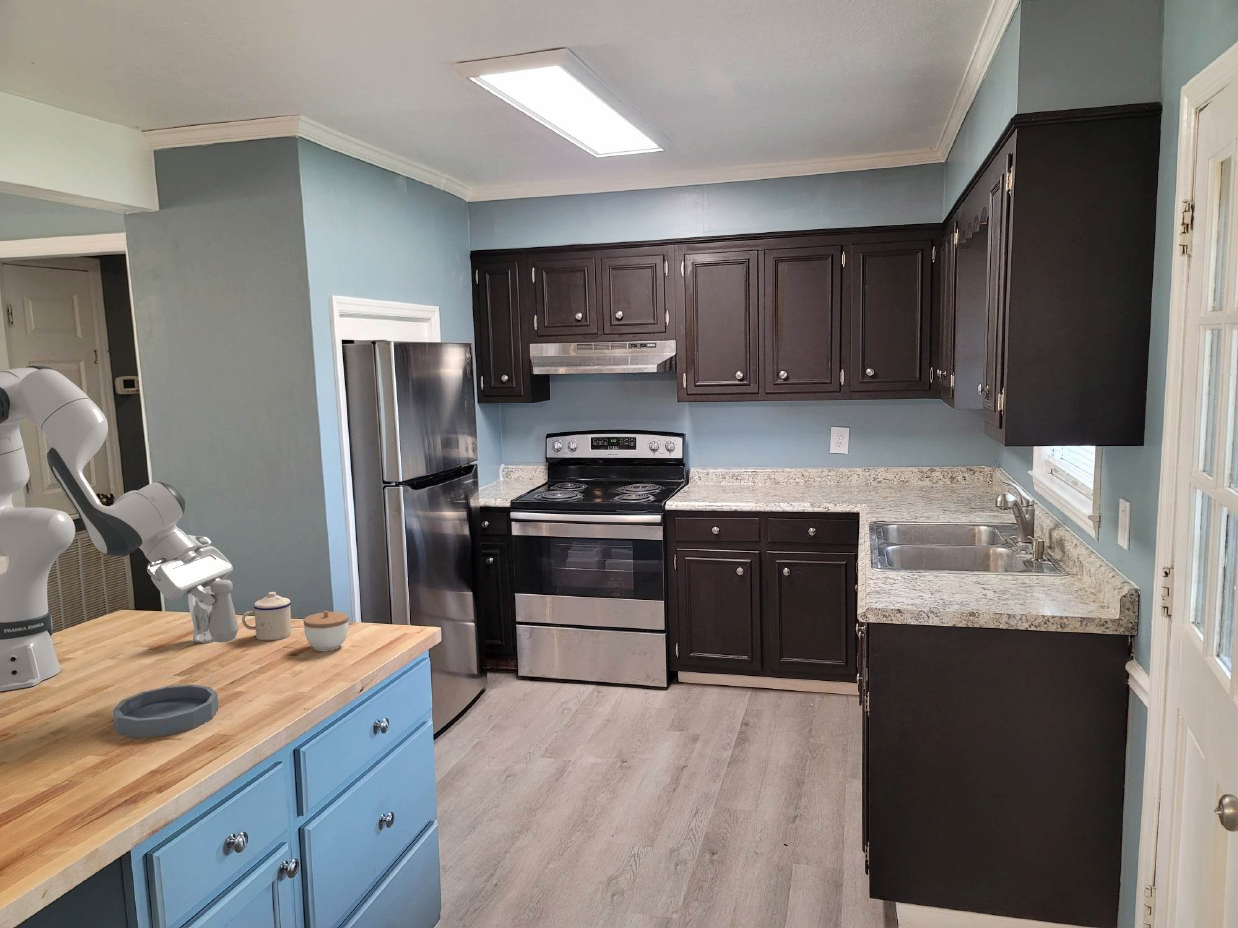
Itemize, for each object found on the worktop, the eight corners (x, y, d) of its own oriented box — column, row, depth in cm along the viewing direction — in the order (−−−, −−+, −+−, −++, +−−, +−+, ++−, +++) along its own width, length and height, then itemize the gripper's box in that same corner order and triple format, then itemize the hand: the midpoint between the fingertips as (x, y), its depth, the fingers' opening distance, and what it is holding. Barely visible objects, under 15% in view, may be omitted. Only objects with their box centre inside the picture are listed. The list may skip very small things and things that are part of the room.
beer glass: (208, 644, 217) (205, 587, 216) (184, 643, 219) (181, 585, 217) (226, 636, 224) (223, 580, 222) (203, 634, 225) (199, 579, 224)
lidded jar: (319, 639, 222) (318, 604, 220) (357, 642, 219) (356, 606, 218) (296, 652, 211) (294, 616, 210) (335, 655, 209) (334, 618, 208)
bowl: (127, 745, 159) (126, 727, 159) (106, 716, 173) (105, 700, 172) (228, 719, 171) (227, 702, 171) (201, 694, 184) (200, 678, 184)
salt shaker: (215, 635, 187) (212, 577, 186) (242, 634, 188) (239, 577, 186) (205, 644, 182) (202, 584, 180) (233, 643, 182) (230, 583, 181)
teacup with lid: (291, 628, 231) (289, 586, 229) (293, 638, 222) (291, 594, 221) (243, 634, 226) (240, 591, 225) (242, 644, 218) (240, 599, 216)
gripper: (151, 554, 173) (199, 603, 173) (211, 535, 193) (254, 579, 193) (133, 575, 174) (180, 624, 174) (194, 554, 194) (236, 597, 194)
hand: (219, 600), depth 184 cm, fingers closed on salt shaker, 3 cm apart
